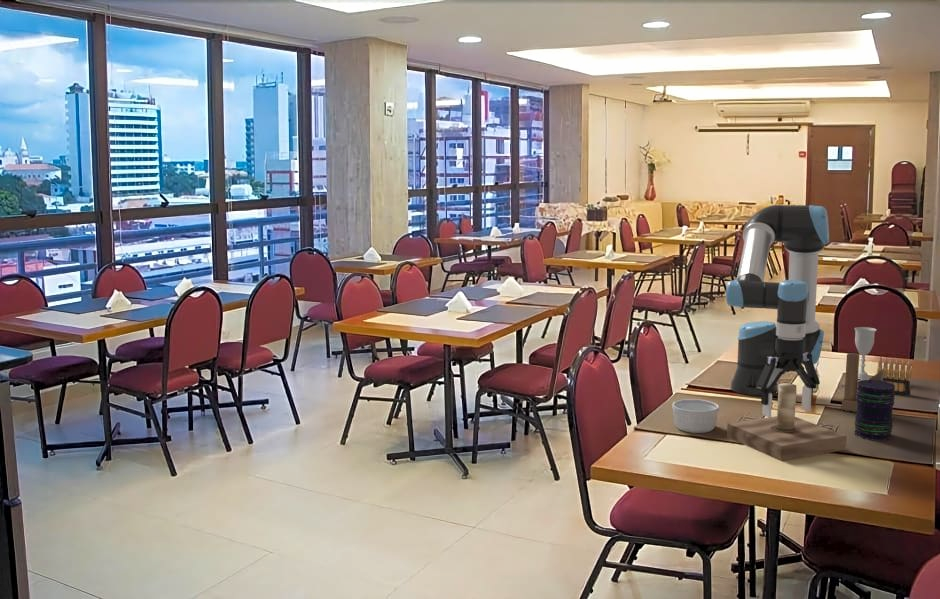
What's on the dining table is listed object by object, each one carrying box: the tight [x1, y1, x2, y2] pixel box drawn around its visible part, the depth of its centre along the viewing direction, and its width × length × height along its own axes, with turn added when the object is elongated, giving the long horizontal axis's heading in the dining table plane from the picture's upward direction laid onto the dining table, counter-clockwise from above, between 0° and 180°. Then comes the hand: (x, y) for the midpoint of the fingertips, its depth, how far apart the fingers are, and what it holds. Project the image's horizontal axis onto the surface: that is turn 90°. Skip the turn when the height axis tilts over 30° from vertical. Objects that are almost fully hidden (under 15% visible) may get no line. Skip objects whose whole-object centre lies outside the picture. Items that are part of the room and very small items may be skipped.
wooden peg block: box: [841, 352, 884, 413], centre depth 278 cm, size 4×11×18 cm, turn 53°
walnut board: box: [726, 415, 847, 462], centre depth 250 cm, size 22×22×4 cm
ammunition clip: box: [876, 356, 912, 396], centre depth 301 cm, size 11×2×12 cm, turn 56°
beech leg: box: [776, 382, 797, 432], centre depth 249 cm, size 5×5×16 cm
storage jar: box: [854, 380, 896, 441], centre depth 256 cm, size 10×10×15 cm
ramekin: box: [671, 398, 720, 434], centre depth 264 cm, size 13×13×7 cm
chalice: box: [853, 326, 877, 381], centre depth 320 cm, size 7×7×18 cm
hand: (786, 413), depth 249 cm, fingers open, 13 cm apart
